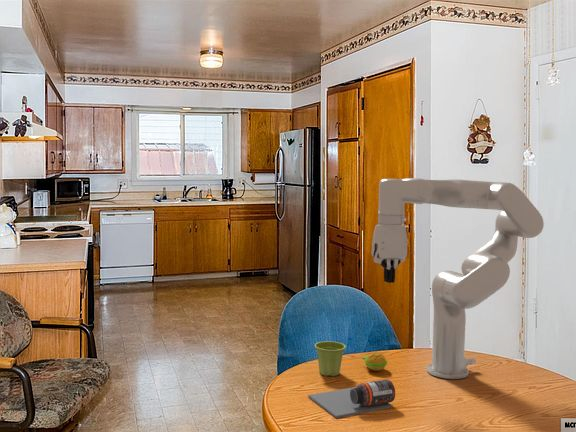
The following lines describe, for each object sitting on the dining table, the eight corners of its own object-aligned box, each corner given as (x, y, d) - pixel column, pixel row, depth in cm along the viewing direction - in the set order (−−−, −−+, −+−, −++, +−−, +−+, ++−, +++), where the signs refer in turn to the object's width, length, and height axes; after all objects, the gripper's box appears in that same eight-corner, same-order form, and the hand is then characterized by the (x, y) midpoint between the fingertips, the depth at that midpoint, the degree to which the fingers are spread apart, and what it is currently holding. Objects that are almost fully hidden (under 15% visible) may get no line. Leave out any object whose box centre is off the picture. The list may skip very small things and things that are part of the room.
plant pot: (328, 366, 186) (328, 339, 185) (351, 373, 179) (351, 345, 178) (307, 372, 179) (308, 345, 178) (331, 380, 172) (331, 352, 172)
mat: (360, 388, 167) (360, 386, 167) (392, 407, 153) (392, 405, 153) (308, 397, 159) (308, 395, 159) (335, 418, 146) (335, 415, 146)
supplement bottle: (390, 405, 156) (352, 412, 151) (381, 385, 159) (345, 391, 155) (399, 395, 152) (361, 402, 147) (390, 375, 155) (353, 380, 151)
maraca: (369, 374, 178) (369, 357, 178) (358, 364, 188) (359, 347, 187) (390, 373, 179) (391, 356, 179) (378, 363, 189) (379, 347, 189)
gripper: (403, 219, 179) (402, 278, 180) (362, 220, 173) (361, 281, 174) (419, 221, 172) (417, 282, 174) (377, 222, 166) (375, 286, 167)
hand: (389, 281), depth 174 cm, fingers closed
